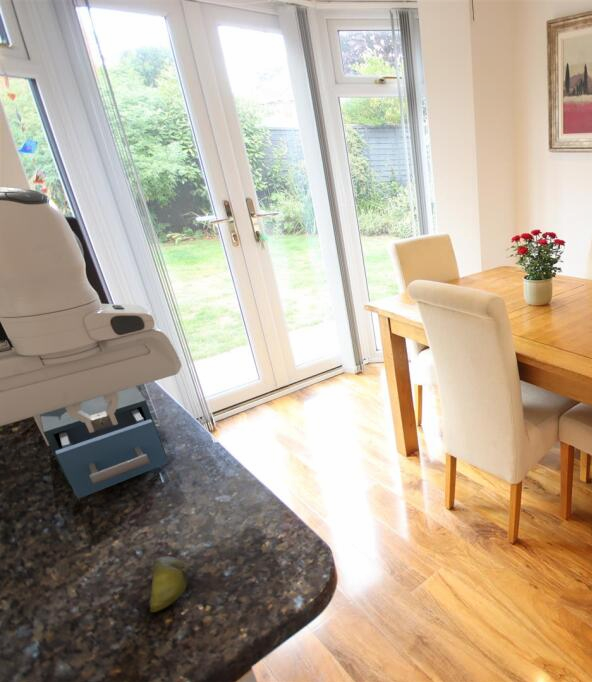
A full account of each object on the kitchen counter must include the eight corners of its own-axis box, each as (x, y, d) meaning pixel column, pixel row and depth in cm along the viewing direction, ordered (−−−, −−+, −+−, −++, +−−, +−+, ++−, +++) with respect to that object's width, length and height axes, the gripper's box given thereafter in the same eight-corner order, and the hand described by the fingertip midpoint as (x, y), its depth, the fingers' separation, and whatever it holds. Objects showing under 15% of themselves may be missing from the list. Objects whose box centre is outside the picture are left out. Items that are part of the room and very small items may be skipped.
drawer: (176, 477, 66) (160, 433, 63) (82, 516, 59) (59, 470, 56) (152, 437, 76) (137, 398, 73) (69, 467, 69) (49, 425, 66)
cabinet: (164, 449, 74) (145, 400, 71) (69, 485, 67) (43, 432, 63) (148, 424, 82) (131, 378, 78) (61, 454, 74) (37, 404, 71)
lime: (162, 625, 46) (145, 589, 44) (132, 609, 48) (115, 573, 46) (204, 589, 50) (191, 554, 48) (175, 575, 51) (161, 541, 49)
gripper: (-75, 364, 46) (-11, 476, 51) (166, 312, 60) (197, 405, 65) (-69, 348, 50) (-11, 454, 55) (155, 303, 64) (185, 391, 69)
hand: (103, 427), depth 60 cm, fingers closed
